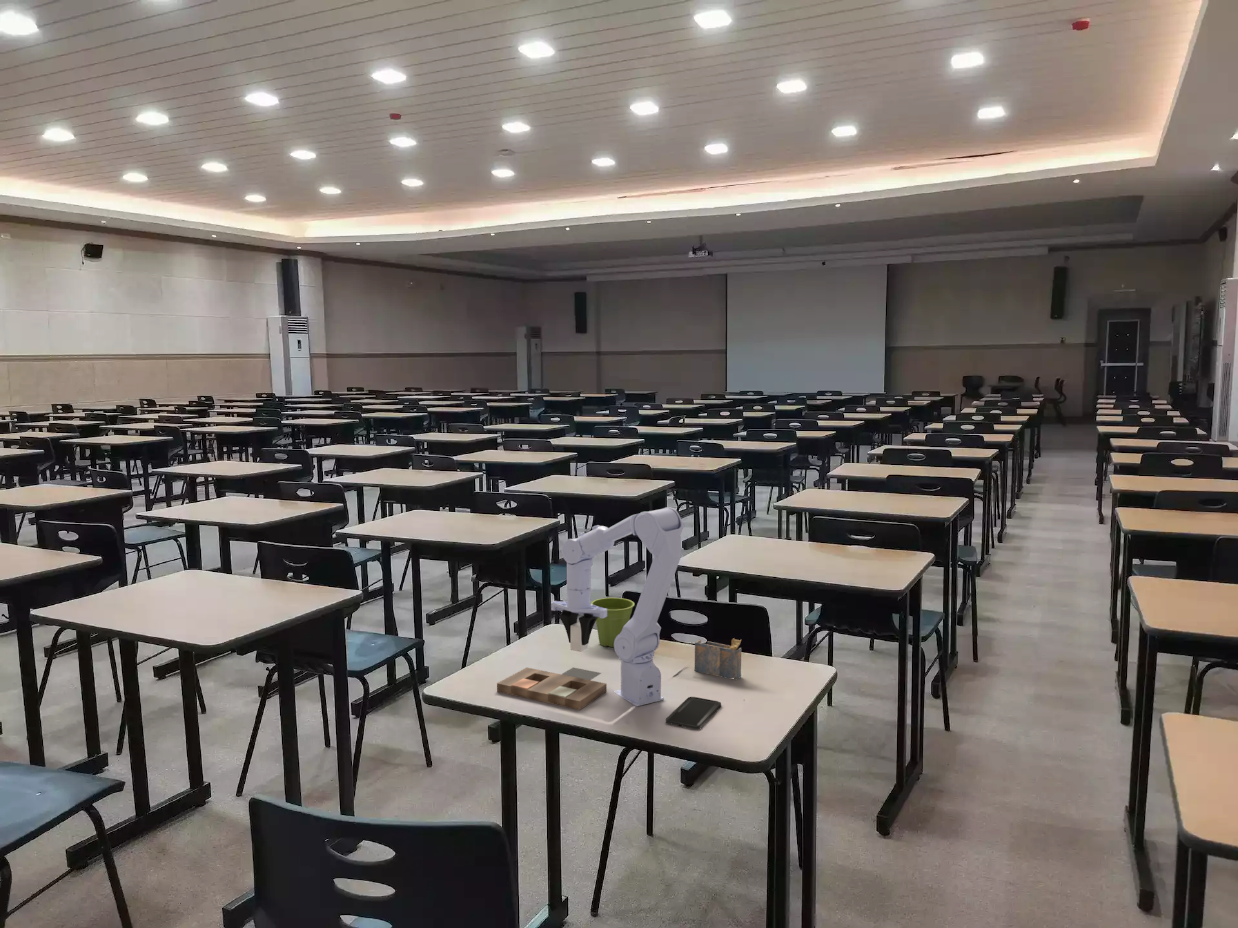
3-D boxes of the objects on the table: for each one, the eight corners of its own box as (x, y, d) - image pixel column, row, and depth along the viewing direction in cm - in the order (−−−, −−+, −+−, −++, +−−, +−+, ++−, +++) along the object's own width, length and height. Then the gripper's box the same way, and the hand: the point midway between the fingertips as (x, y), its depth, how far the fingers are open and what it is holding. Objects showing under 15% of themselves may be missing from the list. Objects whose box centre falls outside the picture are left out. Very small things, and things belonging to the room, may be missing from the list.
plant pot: (581, 643, 229) (581, 603, 227) (611, 634, 237) (611, 595, 236) (613, 653, 221) (614, 611, 220) (643, 643, 230) (643, 603, 228)
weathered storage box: (741, 677, 205) (742, 639, 204) (736, 681, 202) (737, 642, 201) (700, 668, 211) (700, 631, 210) (694, 672, 208) (695, 634, 207)
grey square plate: (601, 675, 205) (601, 672, 205) (584, 685, 198) (584, 683, 198) (573, 669, 208) (573, 667, 208) (555, 679, 201) (555, 677, 201)
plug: (587, 648, 203) (587, 624, 202) (581, 651, 200) (581, 627, 200) (576, 646, 204) (576, 622, 204) (570, 649, 202) (570, 625, 201)
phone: (722, 701, 187) (698, 726, 173) (722, 706, 187) (698, 732, 173) (689, 695, 190) (663, 719, 177) (689, 700, 190) (663, 724, 177)
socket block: (606, 693, 193) (606, 682, 192) (579, 712, 182) (579, 700, 182) (526, 677, 203) (526, 666, 203) (497, 693, 192) (496, 682, 192)
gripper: (613, 587, 201) (613, 642, 202) (561, 580, 208) (562, 633, 209) (598, 594, 195) (598, 651, 196) (546, 586, 201) (546, 641, 203)
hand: (578, 642), depth 202 cm, fingers closed on plug, 3 cm apart
